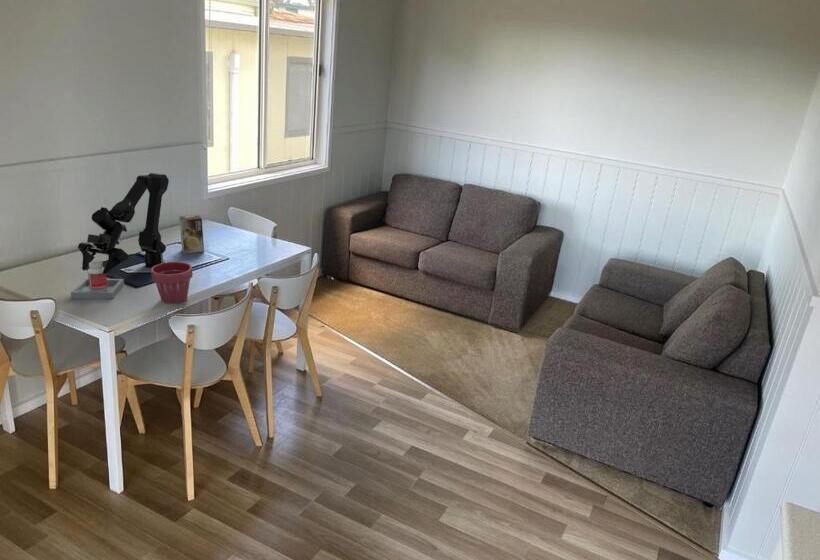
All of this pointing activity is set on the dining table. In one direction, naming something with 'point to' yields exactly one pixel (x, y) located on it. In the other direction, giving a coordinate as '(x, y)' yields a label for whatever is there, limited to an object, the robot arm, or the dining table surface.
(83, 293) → the tray
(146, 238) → the robot arm
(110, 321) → the dining table surface
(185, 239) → the coffee box
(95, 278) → the pill bottle
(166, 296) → the plant pot
